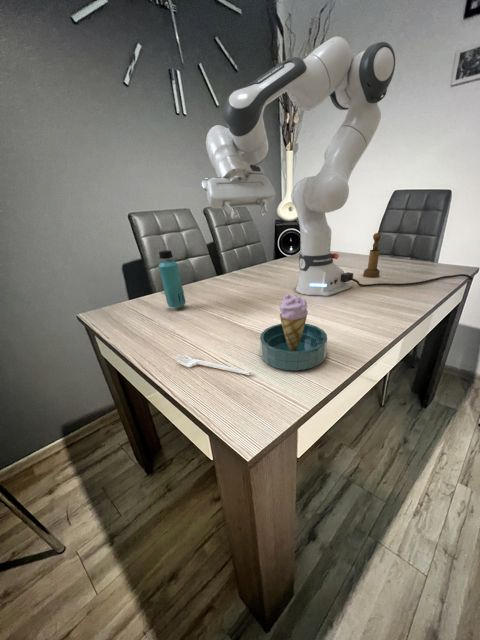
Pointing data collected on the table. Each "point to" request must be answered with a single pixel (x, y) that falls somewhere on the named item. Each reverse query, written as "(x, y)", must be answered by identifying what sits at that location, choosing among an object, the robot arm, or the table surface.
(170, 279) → the beverage bottle
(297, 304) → the ice cream cone
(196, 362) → the fork
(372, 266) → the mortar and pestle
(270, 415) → the table surface
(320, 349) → the bowl
